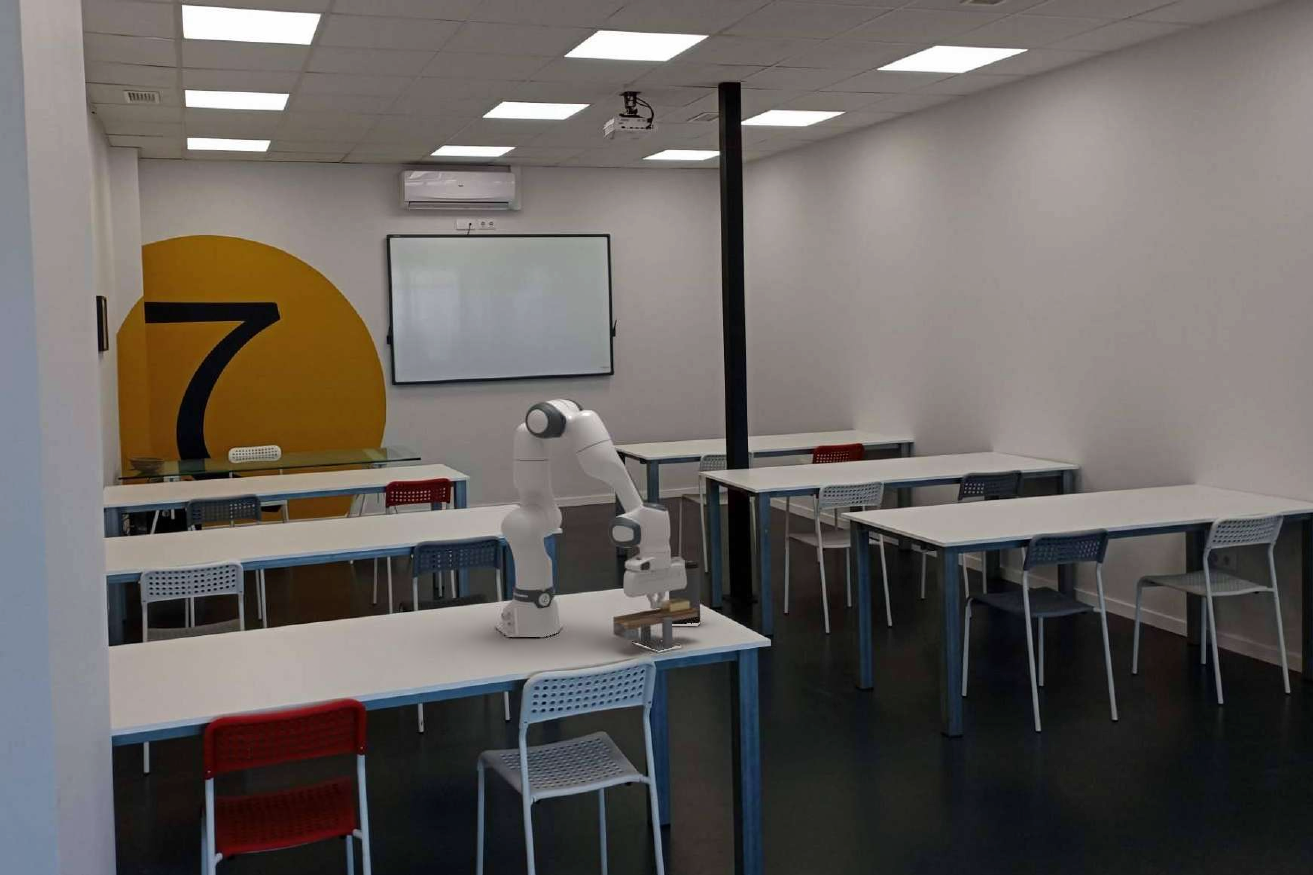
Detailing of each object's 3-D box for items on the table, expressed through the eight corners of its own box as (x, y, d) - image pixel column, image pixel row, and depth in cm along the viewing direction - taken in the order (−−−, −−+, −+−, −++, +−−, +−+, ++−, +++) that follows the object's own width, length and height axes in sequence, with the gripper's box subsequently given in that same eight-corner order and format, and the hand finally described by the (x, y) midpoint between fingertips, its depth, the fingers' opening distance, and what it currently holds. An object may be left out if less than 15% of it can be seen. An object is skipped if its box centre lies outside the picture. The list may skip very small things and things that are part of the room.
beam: (613, 634, 318) (613, 617, 318) (681, 621, 332) (680, 604, 332) (629, 640, 312) (629, 622, 311) (697, 626, 326) (697, 609, 326)
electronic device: (700, 622, 349) (699, 558, 347) (699, 627, 343) (698, 562, 341) (670, 622, 350) (669, 558, 348) (669, 627, 344) (667, 562, 342)
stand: (632, 643, 325) (631, 613, 325) (654, 639, 330) (654, 608, 329) (658, 653, 315) (658, 621, 314) (681, 648, 320) (680, 616, 319)
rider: (659, 613, 326) (659, 601, 326) (679, 609, 330) (679, 597, 330) (670, 616, 322) (670, 604, 322) (689, 612, 326) (689, 600, 326)
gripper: (677, 554, 329) (678, 600, 331) (619, 563, 317) (620, 611, 318) (690, 557, 324) (691, 604, 325) (632, 566, 312) (633, 615, 313)
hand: (656, 608), depth 322 cm, fingers closed
